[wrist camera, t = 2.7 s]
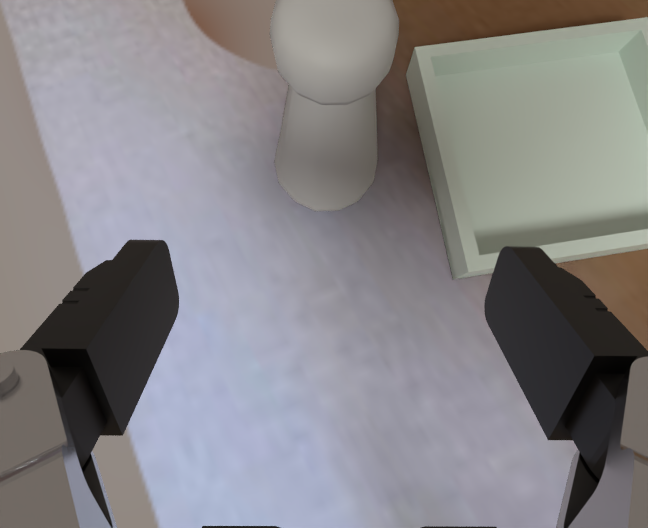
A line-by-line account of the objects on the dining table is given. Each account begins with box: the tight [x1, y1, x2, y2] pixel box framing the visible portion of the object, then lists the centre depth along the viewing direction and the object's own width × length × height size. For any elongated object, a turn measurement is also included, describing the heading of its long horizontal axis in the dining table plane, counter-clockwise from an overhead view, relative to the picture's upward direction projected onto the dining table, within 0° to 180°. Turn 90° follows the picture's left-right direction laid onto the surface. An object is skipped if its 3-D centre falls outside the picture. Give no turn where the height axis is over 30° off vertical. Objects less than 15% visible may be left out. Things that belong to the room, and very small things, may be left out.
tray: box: [406, 17, 648, 280], centre depth 24 cm, size 15×14×2 cm
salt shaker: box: [270, 0, 399, 211], centre depth 19 cm, size 6×6×13 cm
